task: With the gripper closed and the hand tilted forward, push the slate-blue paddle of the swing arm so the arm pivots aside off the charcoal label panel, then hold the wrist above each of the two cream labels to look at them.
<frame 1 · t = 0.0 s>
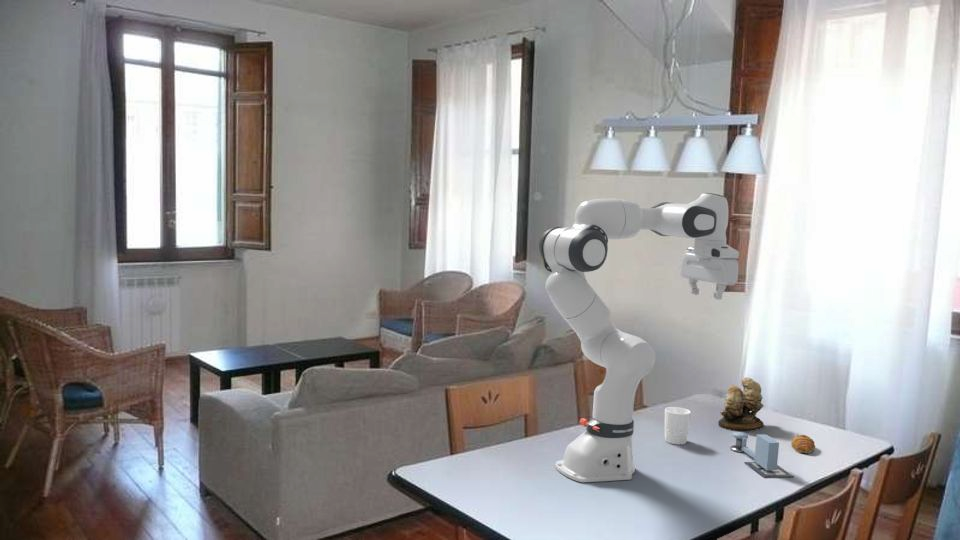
hand: (706, 296, 216), 48 cm above the table, tool pointing down, fingers open, 8 cm apart
label panel: (768, 470, 211), on the table
pivot post: (739, 449, 228), on the table
white cup: (675, 441, 233), on the table
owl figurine: (741, 425, 253), on the table
swing arm: (754, 443, 219), point 5 cm above the table, hinge at 0.0°
pastry: (803, 450, 231), on the table
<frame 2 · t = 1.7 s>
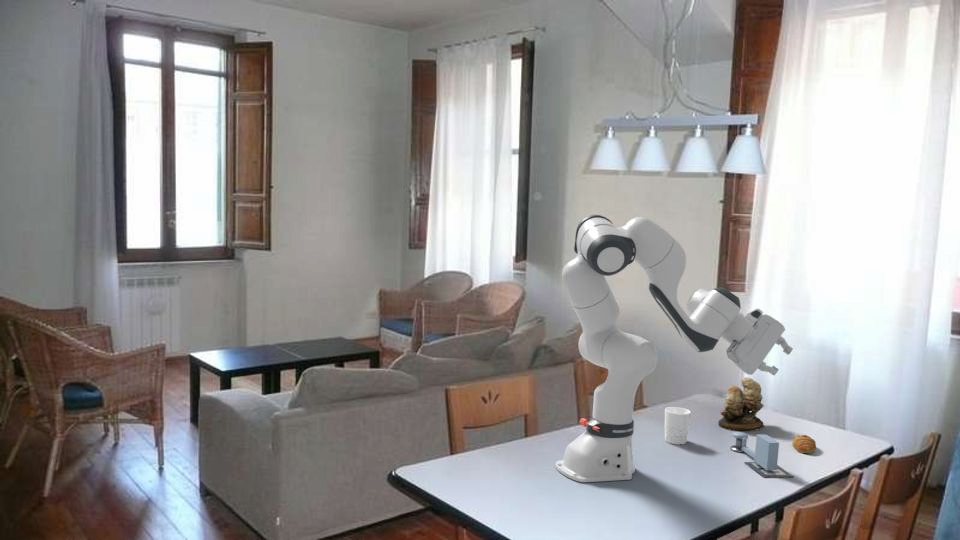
hand: (783, 362, 203), 33 cm above the table, tool tilted 60°, fingers open, 8 cm apart
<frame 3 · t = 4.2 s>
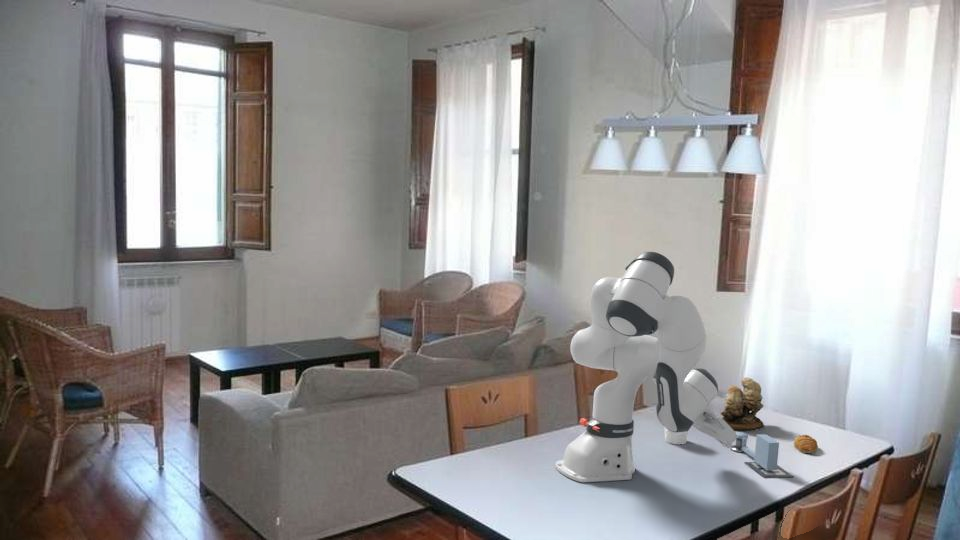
hand: (728, 445, 208), 8 cm above the table, tool tilted 45°, fingers closed
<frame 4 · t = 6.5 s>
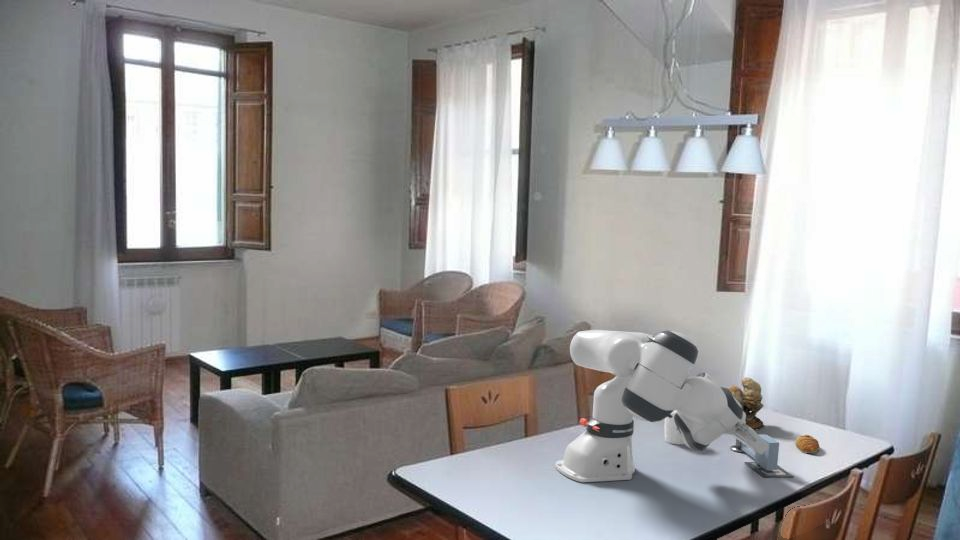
hand: (758, 451, 212), 5 cm above the table, tool tilted 45°, fingers closed, pressing on swing arm
swing arm: (754, 443, 219), point 5 cm above the table, hinge at 0.2°, touching gripper
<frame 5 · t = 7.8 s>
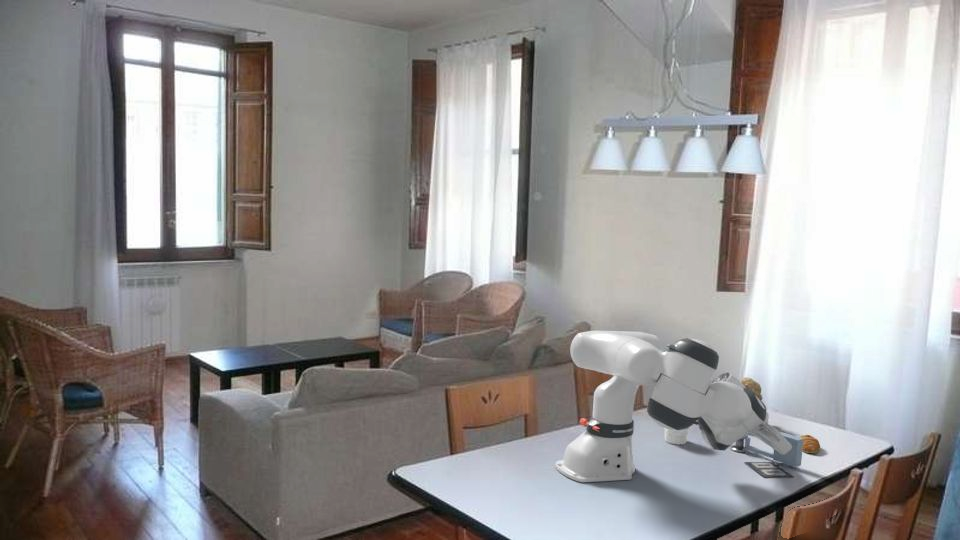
hand: (780, 451, 214), 5 cm above the table, tool tilted 45°, fingers closed
swing arm: (765, 442, 221), point 5 cm above the table, hinge at 30.6°, touching gripper
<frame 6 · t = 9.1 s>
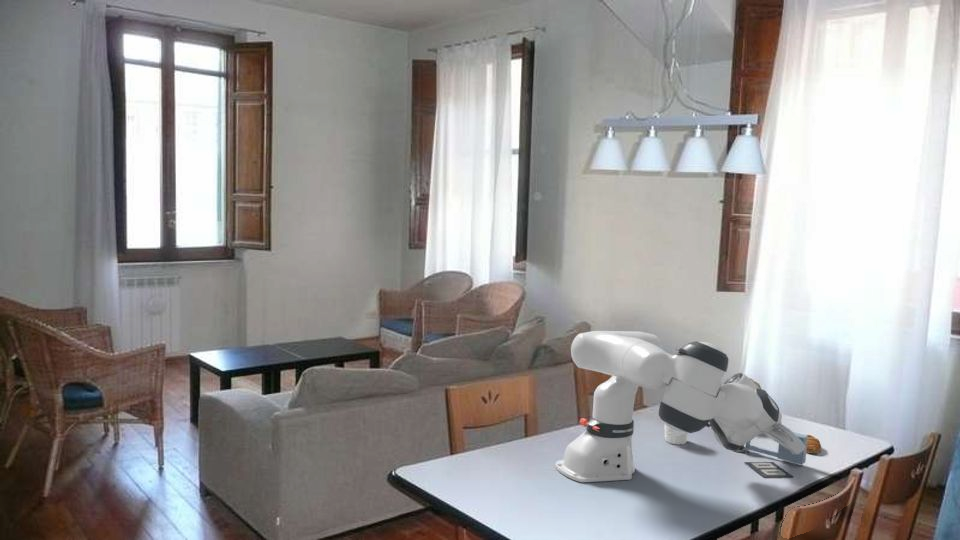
hand: (793, 451, 214), 5 cm above the table, tool tilted 45°, fingers closed
swing arm: (768, 441, 222), point 5 cm above the table, hinge at 42.0°, touching gripper
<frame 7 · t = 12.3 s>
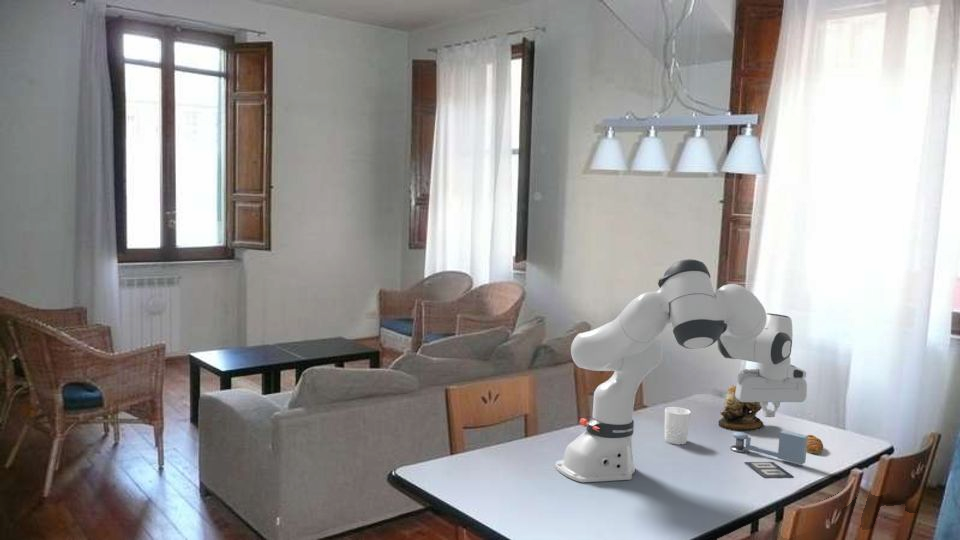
hand: (768, 416, 212), 15 cm above the table, tool pointing down, fingers closed
swing arm: (768, 441, 222), point 5 cm above the table, hinge at 42.0°
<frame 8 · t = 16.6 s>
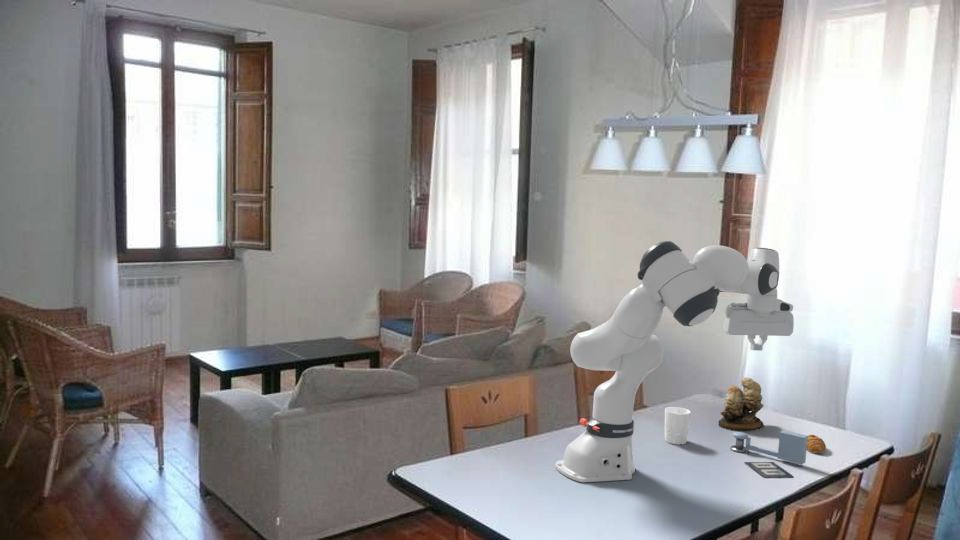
hand: (756, 350, 216), 33 cm above the table, tool pointing down, fingers closed
at the end: swing arm at +42° (first picture: +0°); swing arm touching nothing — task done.
